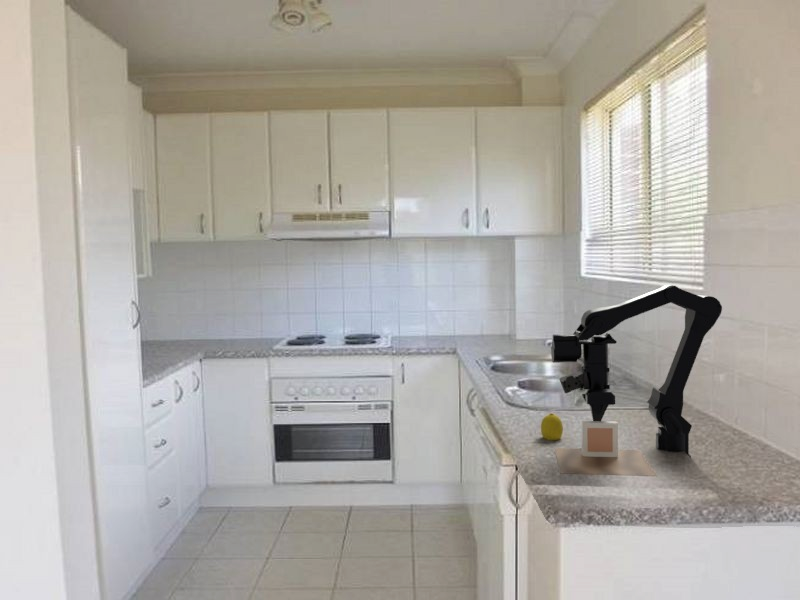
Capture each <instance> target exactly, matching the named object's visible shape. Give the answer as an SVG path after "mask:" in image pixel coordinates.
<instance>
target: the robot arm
mask: <svg viewBox="0 0 800 600" xmlns="http://www.w3.org/2000/svg"><path fill="white" fill-rule="evenodd" d="M670 303H671V304H673V305H675V306H678V307H680V308H682V309H684V310H685V314H684V331H683V334H682V335H681V338H680V341H679V344H678V346H677V349H676V352H675V354H674V357H673V360H672V362H671V365H670V368H669V370H668V373H667V374H666V375H667V376H666V378H665V381H664V383H663V384H662V385H661V386H660V387H659V389H658V388H655V387H652V391H651V395H650V397H649V399H648V400H646V401H647V404H648V411H649V413H650V415H651V417H652V418H653V419H655V420H656V421H657V424H658V425H659V426H658V427H657V433H655V447H656V450H658V451H665V452H671V453H682V452H685V454H686V455H688V457H689V458H692V456H691V454H690V453H689V452H690V451H689V450H690V448H689V446H690V445H689V441H690V440H689V439H690V437H689V434H690V433H691V430H692V424H691V423H690V422H689V421H688V420H686V419H685V417H683V416H682V414H683V408H684V390H685V387H686V385H687V382H688V380H689V377H690V374H691V371H692V370H693V367H694V364H695V361H696V359H697V356H698V354H699V351H700V348H701V346H702V344H703V341H704V338H705V336H706V335H707V333H709V331H710V330H711V329H712V328H713V327H714V326H715V324H716V322H717V320H718V319H719V317H720V316H721V314H722V311H723V306H722V304H721V302H720V301H719V300H718V299H717V298H716V297H714V296H709V295H705V294H695V293H693V292H689V291H687V290H684V289H682V288H679V287H678V286H677V285H671V284H665V285H663V286H661V287H660V288H656V289H655V290H652V291H649V292H646V293H645V294H641V295H639V296H636V297H633V298H632V299H629V300H625V301H624V302H621V303H618V304H614V305H609V306H603V307H602V306H601V307H597V308H592V309H588V310H586V311H585V312H584V313H583V314H582V316H581V319H580V322H581V323H580V324H579V325H578V327H577V328H576V330H575V331H574V332H573V334H552V341H551V346H550V354H551V361H552V363H557V364H558V363H577V362H578V360H580V359H581V358H582V356H583V358H582V363H583V364H581V366H580V370H578V371H577V372H573V373H569V374H567V375H564V376H561V377H560V378H558V379H559V383H560V384H561V387H562V390H563V391H564V394H569V393H571V392H572V391H576V390H577V389H579V391H583V390H585V393H582V394H581V395H582V397H583V399H584V401H585V403H586V404H587V405H589V410H590V413H591V418H592V421H603V418H604V415H605V413H606V411H607V409H608V407H609V405H610V406H611V405H612V406H614V405H616V395H615V394H614V393H613V391H611V390H610V389H611V386H610V383H609V373H610V367H609V350H608V349H609V347H608V345H610V344H611V345H614V344H617V340H616V339H614V337H612V335H611V333H609V331H610V330H612V329H615V327H617V326H618V325H620V324H621V323H623V322H624V321H626V320H629V319H631V318H634V317H636V316H639V315H642V314H644V313H647V312H649V311H652V310H655V309H657V308H660V307H662V306H663V307H664V305H668V304H670Z"/></svg>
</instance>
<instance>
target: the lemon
mask: <svg viewBox="0 0 800 600" xmlns="http://www.w3.org/2000/svg"><path fill="white" fill-rule="evenodd" d="M563 426H564V425H563V422H562V420H561V418H560V417H559V416H557V415H556V414H554V413H553V412H550V413H549V414H547V415H545V416H544V417H543V418H542V420H541V423H540V432H541V435H542V437H543V439H545V440H548V441H558V440H560V439H561V438H562V436H563V432H564V427H563Z"/></svg>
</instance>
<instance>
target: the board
mask: <svg viewBox="0 0 800 600" xmlns="http://www.w3.org/2000/svg"><path fill="white" fill-rule="evenodd" d="M554 452H555V456H556V463H557V465H558V466H557V467H558V470H559V473H560V474H562V475H563V474H567V475H597V476H599V475H603V476H634V477H636V476H637V477H638V476H639V477H642V476H643V477H658V475H657V473H656V472H655V470H654V469H653V468H652V465H651V464H650V462H648V460H647V458H646V456H645V455H644V453H643V452H642V450H640V449H618V457H591V456H582V448H555V447H554Z"/></svg>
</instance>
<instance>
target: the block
mask: <svg viewBox="0 0 800 600" xmlns="http://www.w3.org/2000/svg"><path fill="white" fill-rule="evenodd" d="M580 423H581V424H580V426H581V428H580V429H581V431H580V432H581V435H580V436H581V437H580V438H581V449H582V456H591V457H618V450H619V423H618V421H612V420H611V421H610V420H609V421H607V420H606V421H605V420H604V421H603V420H601V421H593V420H581V421H580Z"/></svg>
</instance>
